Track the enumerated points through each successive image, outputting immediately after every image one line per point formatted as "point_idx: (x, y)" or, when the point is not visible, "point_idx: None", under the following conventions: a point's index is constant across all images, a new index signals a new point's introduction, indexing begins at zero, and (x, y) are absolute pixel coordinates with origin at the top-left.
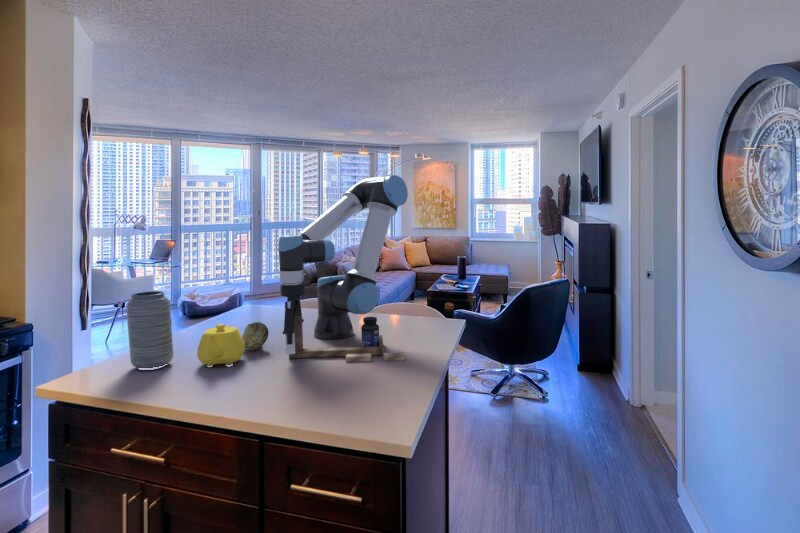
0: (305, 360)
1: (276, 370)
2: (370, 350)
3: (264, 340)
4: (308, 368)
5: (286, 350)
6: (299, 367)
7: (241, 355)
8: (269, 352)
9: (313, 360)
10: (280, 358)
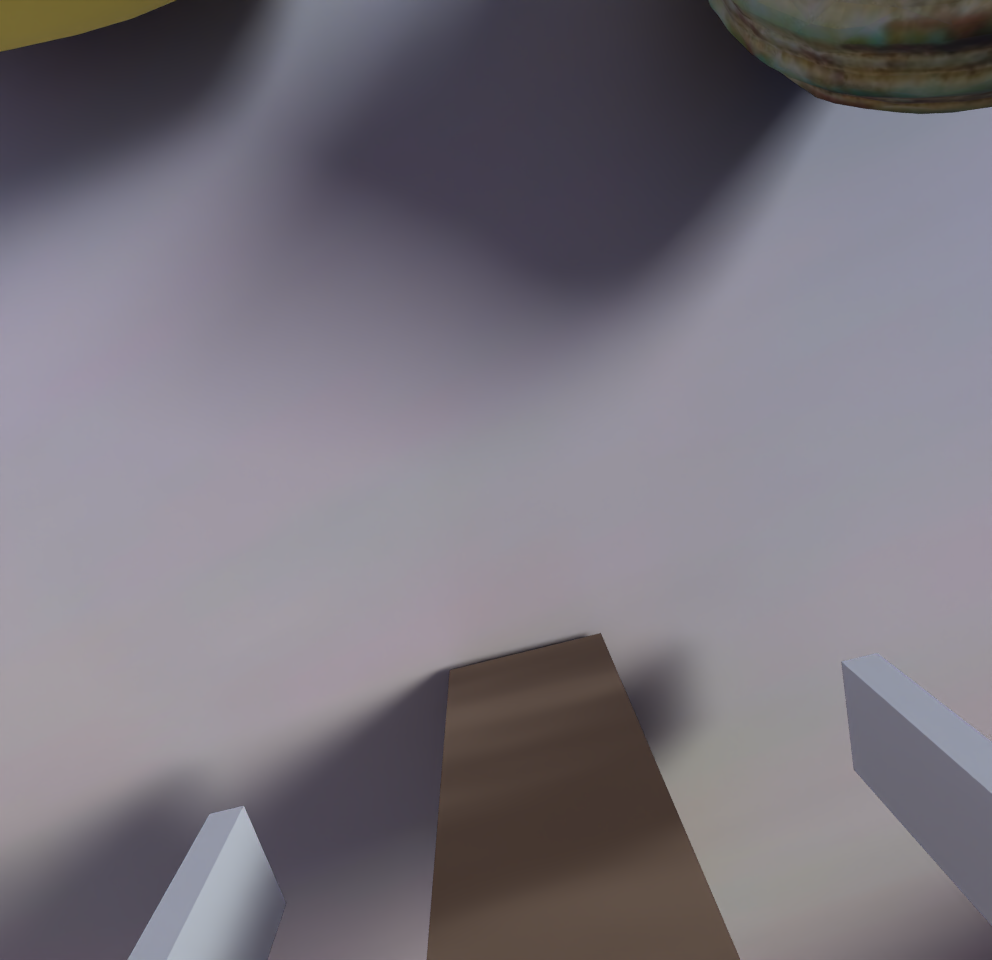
0: None
1: (44, 699)
2: None
3: (868, 96)
4: None
5: (184, 870)
6: None
7: (26, 45)
8: (699, 273)
9: None
10: (460, 552)
